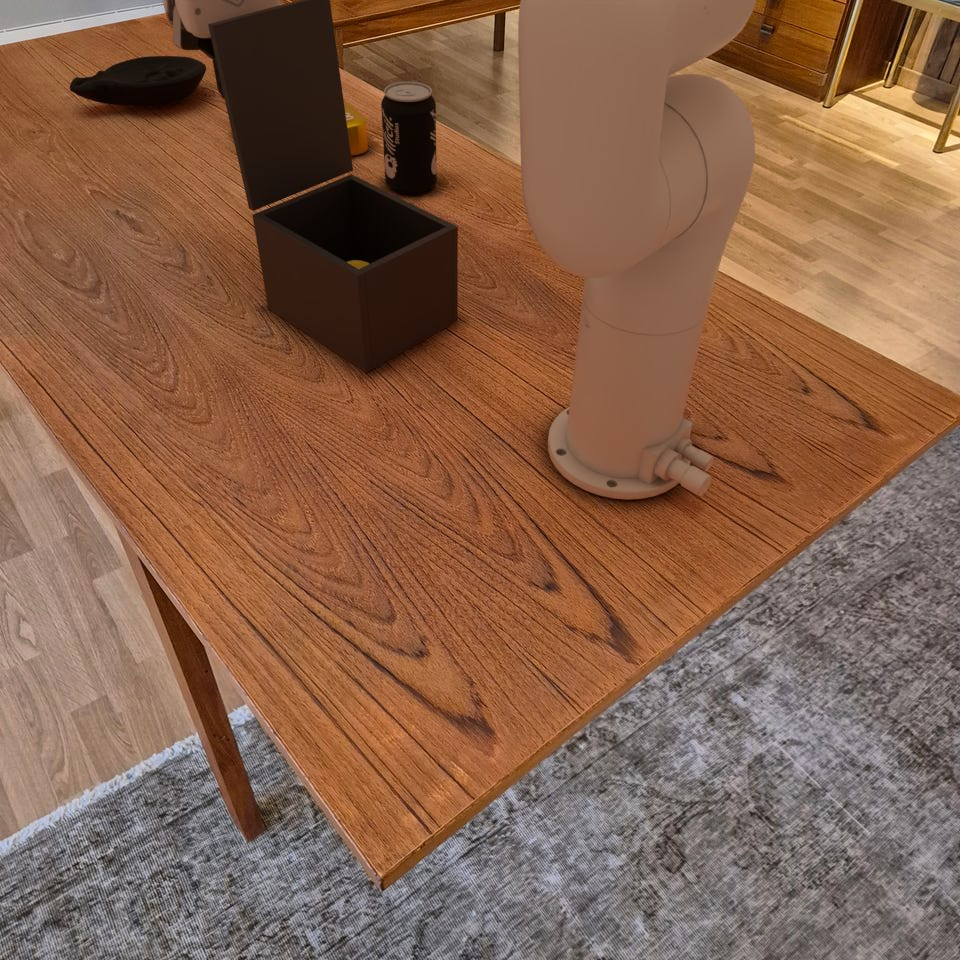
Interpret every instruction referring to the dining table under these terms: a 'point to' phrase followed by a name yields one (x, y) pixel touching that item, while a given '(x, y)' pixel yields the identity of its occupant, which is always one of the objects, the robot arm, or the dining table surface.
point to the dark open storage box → (359, 292)
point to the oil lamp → (143, 81)
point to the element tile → (356, 130)
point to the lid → (283, 98)
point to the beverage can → (409, 137)
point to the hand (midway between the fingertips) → (236, 99)
